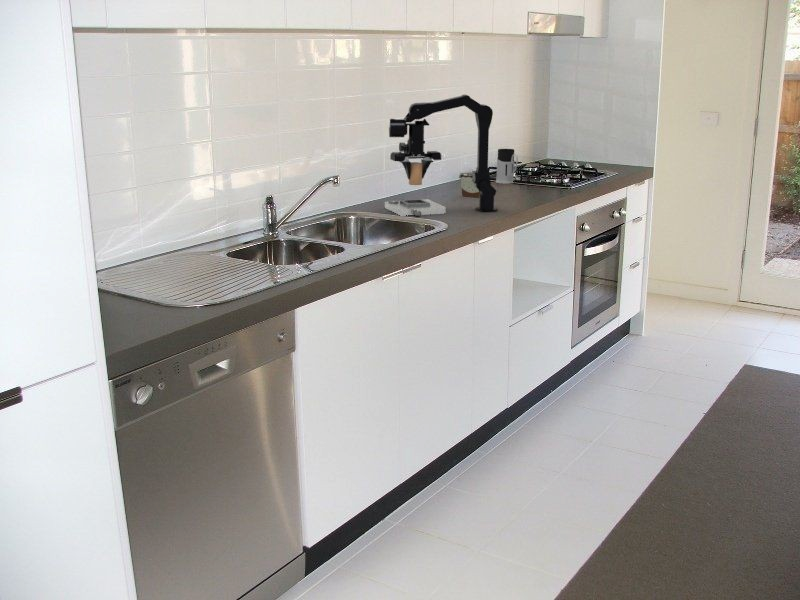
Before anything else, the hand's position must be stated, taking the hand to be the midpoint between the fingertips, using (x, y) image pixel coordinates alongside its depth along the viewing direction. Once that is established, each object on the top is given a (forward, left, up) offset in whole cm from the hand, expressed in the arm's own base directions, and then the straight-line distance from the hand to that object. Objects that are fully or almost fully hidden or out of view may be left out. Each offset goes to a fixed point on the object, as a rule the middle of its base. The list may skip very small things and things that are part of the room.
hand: (415, 178), depth 336 cm
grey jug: (+52, -66, -12) cm, 84 cm away
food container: (+21, -35, -12) cm, 42 cm away
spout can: (0, 0, -2) cm, 2 cm away
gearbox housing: (-2, 0, -12) cm, 12 cm away
